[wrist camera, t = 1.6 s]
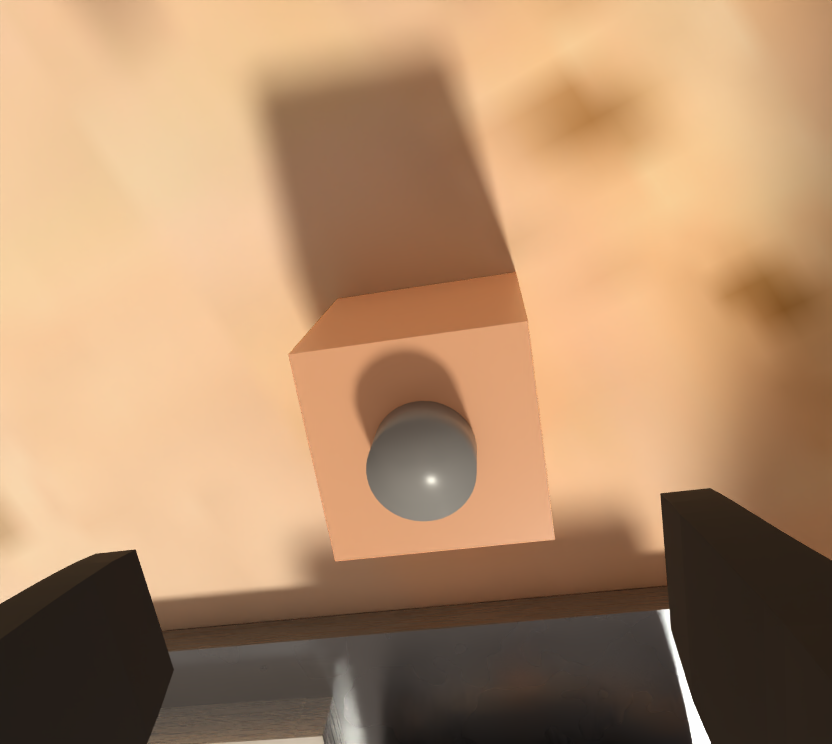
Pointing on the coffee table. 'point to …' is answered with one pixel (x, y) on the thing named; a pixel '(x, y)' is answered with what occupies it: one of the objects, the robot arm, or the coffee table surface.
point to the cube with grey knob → (425, 420)
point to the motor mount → (438, 676)
